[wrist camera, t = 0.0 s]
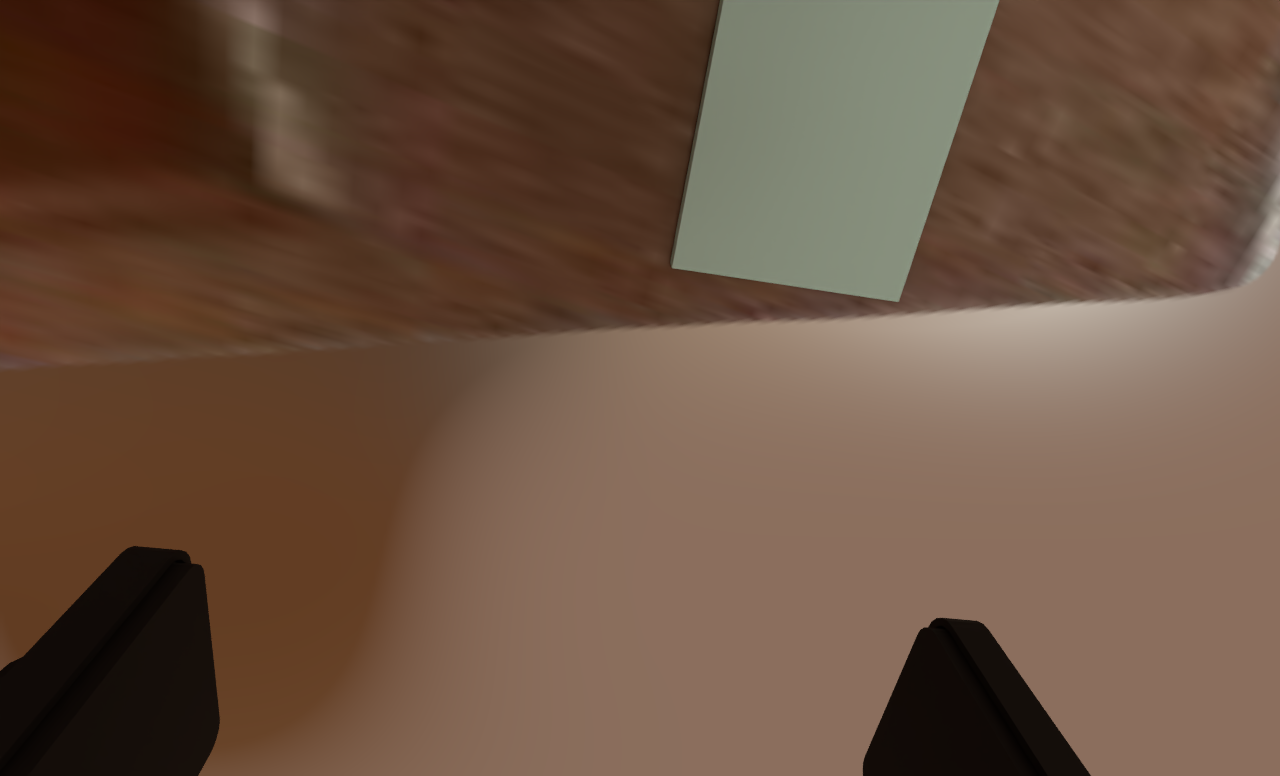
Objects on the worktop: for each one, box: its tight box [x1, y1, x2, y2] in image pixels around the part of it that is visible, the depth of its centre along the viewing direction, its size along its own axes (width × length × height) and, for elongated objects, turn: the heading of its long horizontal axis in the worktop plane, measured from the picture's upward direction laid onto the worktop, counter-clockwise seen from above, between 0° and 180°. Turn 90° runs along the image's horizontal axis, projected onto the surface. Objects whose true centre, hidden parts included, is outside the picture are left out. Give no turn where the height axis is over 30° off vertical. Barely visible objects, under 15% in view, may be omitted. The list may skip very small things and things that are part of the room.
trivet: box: [670, 0, 999, 302], centre depth 35 cm, size 20×13×1 cm, turn 170°
